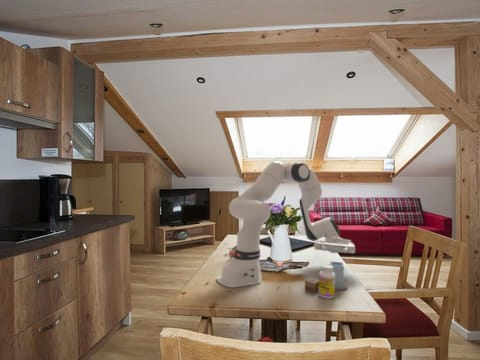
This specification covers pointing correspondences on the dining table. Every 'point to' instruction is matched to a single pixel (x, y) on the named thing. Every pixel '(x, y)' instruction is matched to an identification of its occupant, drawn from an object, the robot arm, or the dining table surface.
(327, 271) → the supplement bottle
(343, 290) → the slate coaster
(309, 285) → the walnut box
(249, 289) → the dining table surface
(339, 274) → the blue-gray rectangular block
